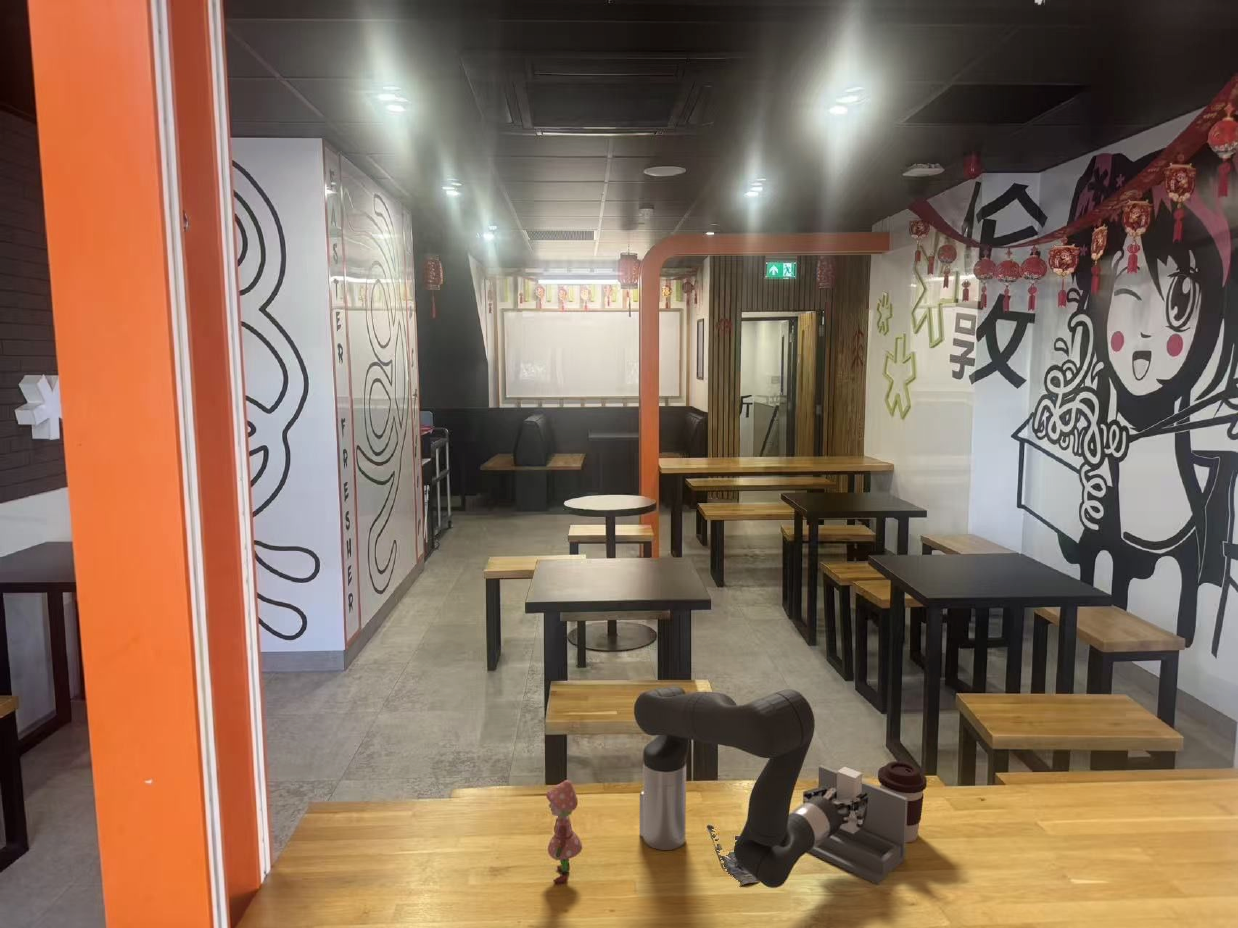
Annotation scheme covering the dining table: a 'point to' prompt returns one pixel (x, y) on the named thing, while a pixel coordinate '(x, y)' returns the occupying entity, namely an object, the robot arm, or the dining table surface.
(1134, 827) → the dining table surface
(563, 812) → the cartoon character
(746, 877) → the driftwood
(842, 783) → the clay bar
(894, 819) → the grey desk organizer
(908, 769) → the coffee cup
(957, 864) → the dining table surface
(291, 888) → the dining table surface
